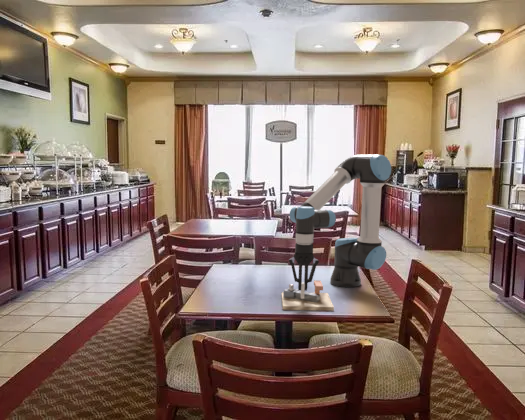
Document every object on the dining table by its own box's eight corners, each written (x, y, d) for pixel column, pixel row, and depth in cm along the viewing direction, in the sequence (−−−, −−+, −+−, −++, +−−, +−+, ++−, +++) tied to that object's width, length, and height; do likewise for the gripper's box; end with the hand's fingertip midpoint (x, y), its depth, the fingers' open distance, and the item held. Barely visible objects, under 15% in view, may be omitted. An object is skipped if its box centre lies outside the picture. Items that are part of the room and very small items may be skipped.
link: (283, 297, 203) (283, 290, 203) (288, 294, 208) (288, 287, 207) (315, 303, 196) (316, 296, 195) (320, 300, 200) (320, 293, 200)
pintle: (296, 295, 207) (296, 283, 206) (296, 298, 202) (297, 286, 201) (285, 295, 207) (285, 283, 206) (285, 298, 202) (286, 286, 201)
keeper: (320, 293, 210) (320, 280, 209) (322, 299, 201) (323, 286, 200) (313, 293, 210) (313, 280, 209) (315, 299, 201) (316, 286, 200)
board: (327, 296, 211) (327, 292, 211) (333, 310, 191) (333, 307, 191) (281, 295, 211) (281, 292, 211) (282, 309, 192) (282, 306, 191)
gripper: (318, 242, 199) (316, 295, 202) (288, 241, 199) (286, 294, 202) (320, 245, 192) (318, 300, 194) (289, 244, 192) (287, 299, 194)
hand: (302, 297), depth 198 cm, fingers closed
